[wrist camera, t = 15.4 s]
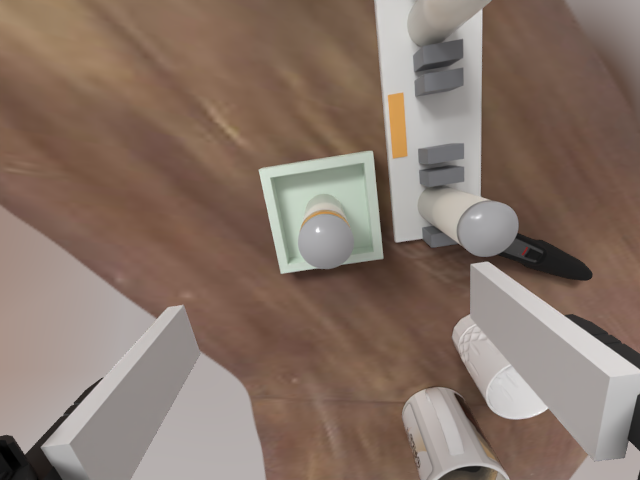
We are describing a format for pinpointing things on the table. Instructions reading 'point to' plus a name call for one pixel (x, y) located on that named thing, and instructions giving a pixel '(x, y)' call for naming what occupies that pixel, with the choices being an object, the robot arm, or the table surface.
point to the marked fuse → (325, 233)
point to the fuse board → (428, 115)
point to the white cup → (494, 374)
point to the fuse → (469, 219)
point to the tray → (323, 178)
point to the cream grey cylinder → (439, 18)
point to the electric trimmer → (546, 258)
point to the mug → (448, 438)
